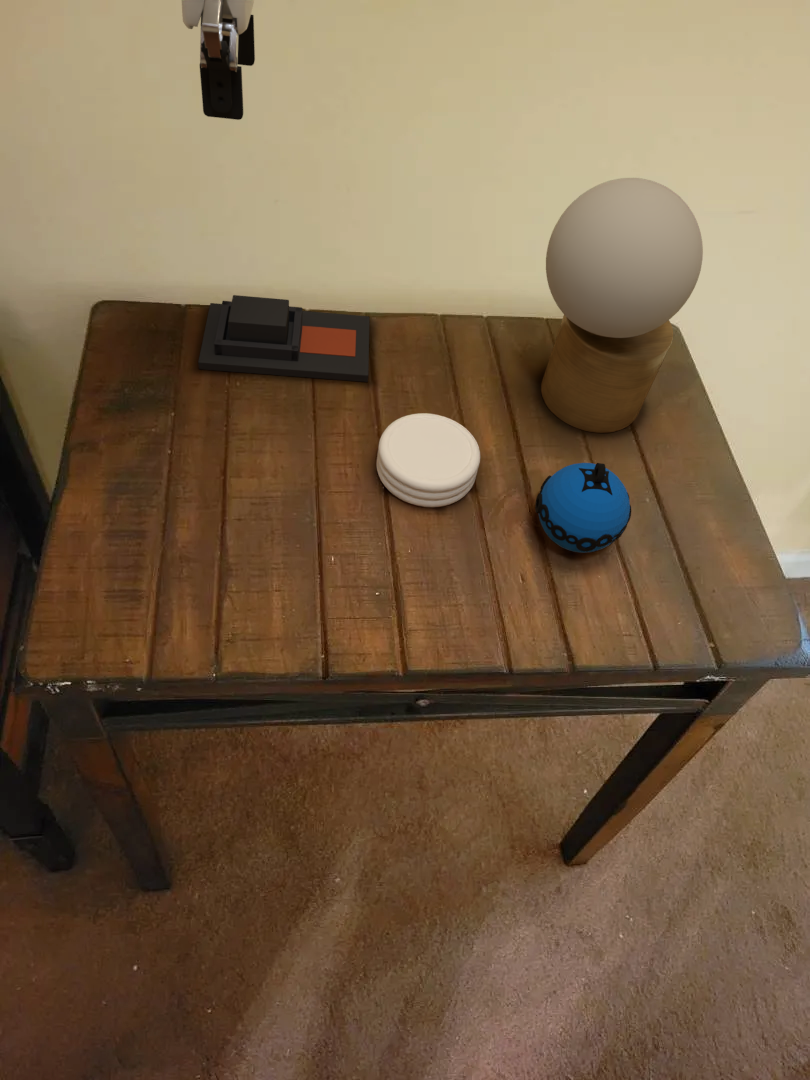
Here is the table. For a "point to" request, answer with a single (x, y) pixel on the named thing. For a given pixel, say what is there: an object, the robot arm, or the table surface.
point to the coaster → (427, 460)
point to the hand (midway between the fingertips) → (230, 88)
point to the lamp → (616, 298)
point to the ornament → (583, 507)
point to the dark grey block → (259, 320)
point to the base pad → (292, 347)
